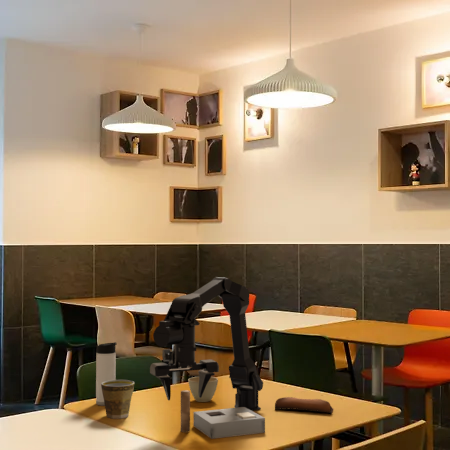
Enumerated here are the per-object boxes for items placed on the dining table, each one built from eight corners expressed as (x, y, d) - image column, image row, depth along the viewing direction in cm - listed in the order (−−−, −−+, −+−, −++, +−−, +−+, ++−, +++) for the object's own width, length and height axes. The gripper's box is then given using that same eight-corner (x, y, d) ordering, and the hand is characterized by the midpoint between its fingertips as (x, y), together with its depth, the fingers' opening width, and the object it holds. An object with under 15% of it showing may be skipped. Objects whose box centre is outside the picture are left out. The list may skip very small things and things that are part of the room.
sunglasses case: (335, 408, 215) (333, 392, 212) (332, 424, 209) (330, 408, 206) (281, 404, 221) (278, 388, 218) (276, 419, 215) (273, 403, 212)
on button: (248, 419, 192) (248, 412, 192) (255, 423, 188) (255, 415, 188) (236, 420, 191) (236, 413, 191) (243, 424, 186) (243, 417, 187)
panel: (244, 420, 200) (244, 406, 200) (265, 432, 187) (264, 417, 187) (193, 425, 194) (193, 411, 194) (211, 438, 181) (211, 423, 181)
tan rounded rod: (188, 429, 190) (188, 390, 191) (191, 431, 188) (191, 391, 188) (179, 430, 189) (179, 390, 190) (182, 432, 187) (182, 392, 187)
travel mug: (112, 406, 218) (112, 344, 218) (93, 405, 219) (93, 343, 220) (119, 401, 224) (119, 341, 224) (100, 401, 225) (100, 340, 226)
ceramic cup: (140, 415, 206) (141, 382, 206) (114, 422, 198) (114, 387, 198) (114, 408, 214) (114, 377, 215) (88, 414, 207) (88, 381, 207)
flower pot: (223, 399, 228) (223, 378, 228) (207, 405, 219) (207, 383, 219) (199, 395, 233) (199, 375, 233) (182, 401, 224) (182, 380, 225)
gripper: (205, 337, 200) (205, 390, 200) (144, 340, 193) (144, 395, 193) (219, 342, 190) (219, 398, 189) (155, 345, 183) (155, 404, 182)
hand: (184, 398), depth 189 cm, fingers open, 9 cm apart
